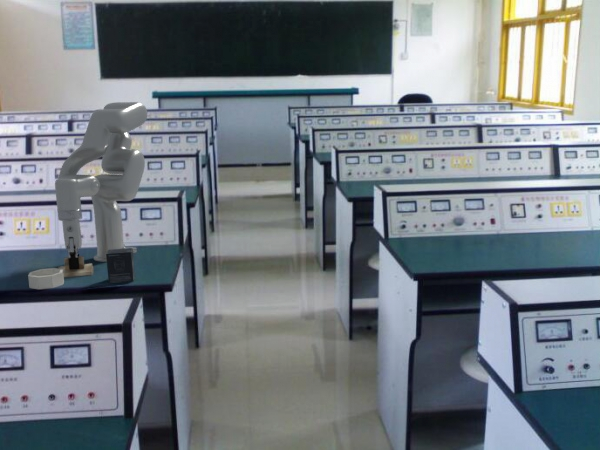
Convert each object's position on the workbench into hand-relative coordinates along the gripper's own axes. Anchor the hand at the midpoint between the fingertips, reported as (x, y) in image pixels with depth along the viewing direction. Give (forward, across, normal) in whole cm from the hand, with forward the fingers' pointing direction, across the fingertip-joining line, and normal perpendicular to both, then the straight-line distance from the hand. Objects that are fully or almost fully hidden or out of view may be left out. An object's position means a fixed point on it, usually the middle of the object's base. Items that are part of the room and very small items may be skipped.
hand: (74, 266), depth 211 cm
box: (+3, -16, -15) cm, 22 cm away
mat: (+3, 0, 0) cm, 3 cm away
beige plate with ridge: (+2, 0, 0) cm, 2 cm away
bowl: (+3, -12, +8) cm, 15 cm away
